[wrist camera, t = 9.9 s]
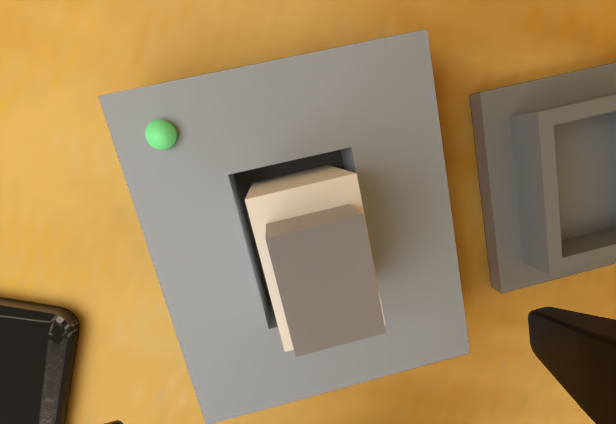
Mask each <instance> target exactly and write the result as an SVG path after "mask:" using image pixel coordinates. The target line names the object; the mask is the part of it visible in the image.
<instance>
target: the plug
mask: <svg viewBox="0 0 616 424" xmlns="http://www.w3.org/2000/svg"><path fill="white" fill-rule="evenodd" d="M245 203H246V207H247V210H248V214H249V218H250V222H251V226H252V230H253V233H254V237H255V241H256V245H257V249H258V252H259V256H260V260H261V264H262V268H263V271H264V275H265V279H266V283H267V287H268V290H269V294H270V298H271V302H272V306H273V309H274V313H275V317H276V321H277V325H278V328H279V332H280V336H281V340H282V344H283V348H284V351H285V352H287V351H291V350H294V352H295V356H296V357H298V356H302V355H306V354H309V353H313V352H317V351H321V350H324V349H328V348H332V347H336V346H339V345H343V344H347V343H350V342H354V341H358V340H362V339H365V338H369V337H373V336H376V335H380V334H384V333H386V330H385V319H384V314H383V309H382V304H381V298H380V293H379V288H378V283H377V277H376V272H375V267H374V262H373V257H372V251H371V246H370V241H369V236H368V230H367V225H366V220H365V215H364V209H363V204H362V199H361V194H360V188H359V183H358V178H357V173H354V172H350V171H347V170H343V169H340V168H337V167H333V166H330V165H325V166H321V167H317V168H312V169H308V170H304V171H300V172H295V173H291V174H287V175H282V176H278V177H274V178H269V179H265V180H261V181H256V182H253V183H252V185H251V187H250V189H249V191H248V193H247V196H246V198H245Z"/></svg>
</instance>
